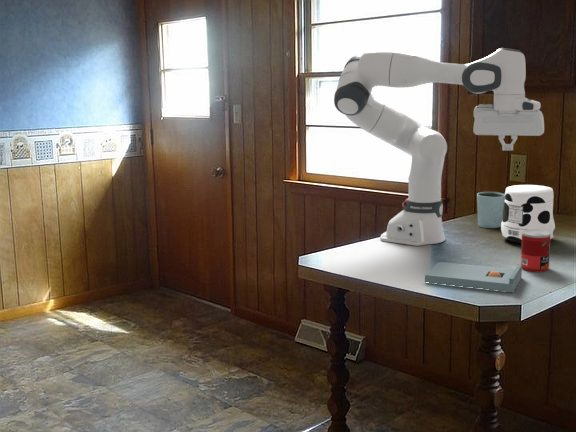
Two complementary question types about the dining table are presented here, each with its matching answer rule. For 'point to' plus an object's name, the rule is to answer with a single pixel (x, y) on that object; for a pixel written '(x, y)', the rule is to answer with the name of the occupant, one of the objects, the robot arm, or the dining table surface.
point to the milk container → (527, 211)
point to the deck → (474, 276)
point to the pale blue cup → (490, 209)
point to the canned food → (535, 250)
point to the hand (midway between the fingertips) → (507, 150)
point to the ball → (494, 274)
